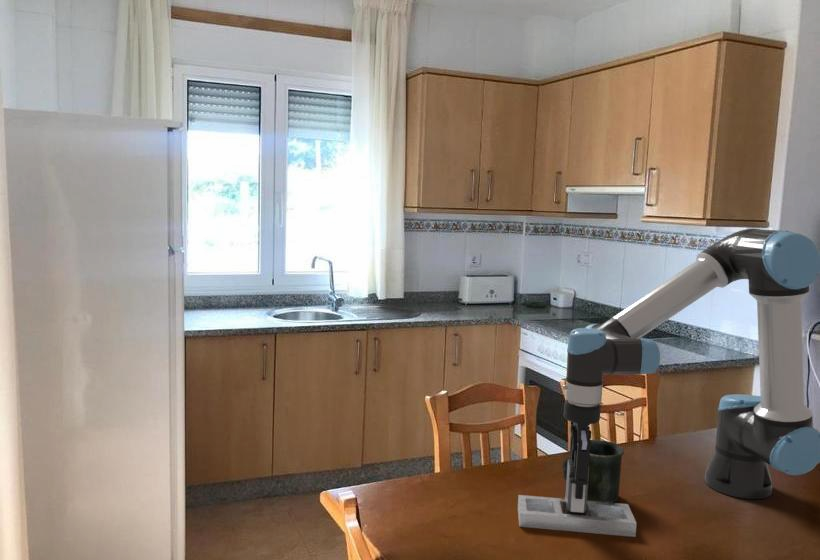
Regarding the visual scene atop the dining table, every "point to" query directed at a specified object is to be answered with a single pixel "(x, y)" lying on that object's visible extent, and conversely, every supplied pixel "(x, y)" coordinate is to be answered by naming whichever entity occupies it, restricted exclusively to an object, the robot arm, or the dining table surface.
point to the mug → (602, 471)
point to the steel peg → (569, 490)
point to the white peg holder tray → (576, 516)
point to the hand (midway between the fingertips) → (575, 505)
